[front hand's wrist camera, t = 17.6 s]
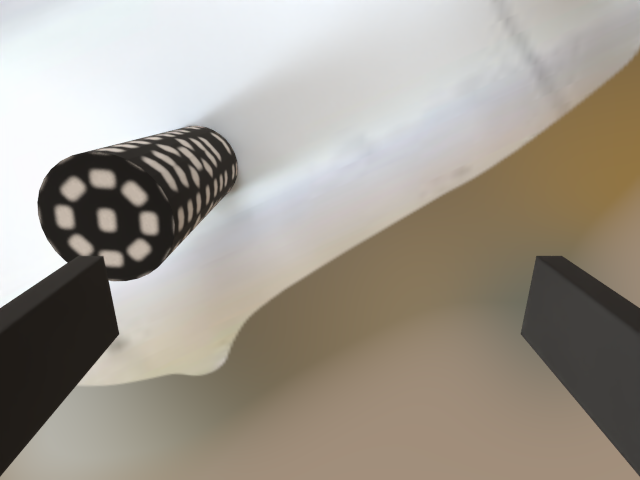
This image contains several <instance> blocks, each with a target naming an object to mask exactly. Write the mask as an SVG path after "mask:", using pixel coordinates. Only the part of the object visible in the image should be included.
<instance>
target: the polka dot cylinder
mask: <svg viewBox="0 0 640 480" xmlns="http://www.w3.org/2000/svg"><path fill="white" fill-rule="evenodd" d="M236 177H237V160H236V157H235V153H234V151H233V149H232V147H231V146H230V145H229V143H228V142H227V141H226V140H225V139H224V138H223V137H222V136H221V135H220V134H218V133H217V132H215V131H214V130H211V129H209V128H206V127H201V126H189V127H185V128H181V129H177V130H173V131H169V132H165V133H160V134H156V135H152V136H148V137H144V138H140V139H136V140H132V141H128V142H124V143H120V144H116V145H112V146H108V147H104V148H100V149H96V150H92V151H88V152H84V153H80V154H76V155H72V156H70V157H68V158H66V159H64V160H62V161H60V162H59V163H58V164H57V165H56V166H54V167H53V168H52V169H51V170H50V171H49V173H48V174H47V176H46V177H45V178H44V180H43V183H42V185H41V188H40V190H39V196H38V216H39V219H40V223H41V227H42V229H43V231H44V233H45V235H46V238H47V240H48V241H49V242H50V244H51V245H52V247H53V248H54V249H55V251H56V252H57V253H58V254H59V255H60V256H61V257H62V258H63V259H64V260H65V261H66V262H70V261H71V260H73V259H74V258H76V257H77V256H104V261H105V266H106V271H107V276H108V280H110V281H128V280H133V279H138V278H140V277H143V276H145V275H147V274H149V273H151V272H152V271H153V270H155V269H156V268H158V267H159V266H160V265H161V264H162V262H163V261H164V260H165V259H166V258H167V257H168V256H169V255H170V254H171V253H172V252H173V251H174V250H175V249H176V247H177V246H178V245H179V244H180V243H181V242H182V241H183V240H184V239H185V238H186V237H187V236H188V235H189V234H190V232H191V231H192V230H193V229H194V228H195V227H196V226H197V225H198V224H199V223H200V222H201V221H202V220H203V219H204V217H205V216H206V215H207V214H208V213H209V212H210V211H211V210H212V209H213V208H214V207H215V206H216V205H217V204H218V202H219V201H220V200H221V199H222V198H223V197H224V196H225V195H226V194H227V193H228V192H229V191H230V189H231V188H232V186H233V185H234V183H235V180H236Z"/></svg>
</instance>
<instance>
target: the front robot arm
mask: <svg viewBox="0 0 640 480" xmlns="http://www.w3.org/2000/svg"><path fill="white" fill-rule="evenodd" d="M118 335H119V330H118V326H117V321H116V316H115V311H114V306H113V301H112V296H111V291H110V286H109V281H108V276H107V271H106V266H105V261H104V256H77V257H76V258H74V259H73V260H71V261H70V262H68V263H67V264H66V265H64V266H63V267H61V268H60V269H58V270H57V271H55V272H54V273H52V274H51V275H49V276H48V277H46V278H45V279H43V280H42V281H40V282H39V283H37V284H36V285H34V286H33V287H31V288H30V289H28V290H27V291H25V292H24V293H22V294H21V295H19V296H18V297H16V298H15V299H13V300H12V301H10V302H9V303H7V304H6V305H4V306H3V307H1V308H0V476H1V475H2V474H3V472H4V471H5V470H6V469H7V468H8V466H9V465H10V464H11V463H12V462H13V460H14V459H15V458H16V457H17V456H18V455H19V453H20V452H21V451H22V450H23V449H24V447H25V446H26V445H27V444H28V443H29V441H30V440H31V439H32V438H33V437H34V435H35V434H36V433H37V432H38V431H39V429H40V428H41V427H42V426H43V425H44V423H45V422H46V421H47V420H48V419H49V417H50V416H51V415H52V414H53V413H54V411H55V410H56V409H57V408H58V407H59V405H60V404H61V403H62V402H63V401H64V399H65V398H66V397H67V396H68V395H69V393H70V392H71V391H72V390H73V389H74V388H75V386H76V385H77V384H78V383H79V382H80V380H81V379H82V378H83V377H84V376H85V374H86V373H87V372H88V371H89V370H90V368H91V367H92V366H93V365H94V364H95V362H96V361H97V360H98V359H99V358H100V356H101V355H102V354H103V353H104V352H105V350H106V349H107V348H108V347H109V346H110V344H111V343H112V342H113V341H114V340H115V338H116V337H117V336H118ZM521 335H522V336H523V337H524V338H525V340H526V341H527V342H528V343H529V344H530V346H531V347H532V348H533V349H534V350H535V352H536V353H537V354H538V355H539V356H540V358H541V359H542V360H543V361H544V362H545V364H546V365H547V366H548V367H549V368H550V370H551V371H552V372H553V373H554V374H555V376H556V377H557V378H558V379H559V380H560V382H561V383H562V384H563V385H564V386H565V388H566V389H567V390H568V391H569V392H570V394H571V395H572V396H573V397H574V398H575V400H576V401H577V402H578V403H579V404H580V405H581V407H582V408H583V409H584V410H585V411H586V413H587V414H588V415H589V416H590V417H591V419H592V420H593V421H594V422H595V423H596V425H597V426H598V427H599V428H600V429H601V431H602V432H603V433H604V434H605V435H606V437H607V438H608V439H609V440H610V441H611V443H612V444H613V445H614V446H615V447H616V449H617V450H618V451H619V452H620V453H621V455H622V456H623V457H624V458H625V459H626V460H627V462H628V463H629V464H630V465H631V466H632V468H633V469H634V470H635V471H636V472H637V474H638V475H639V476H640V308H639V307H637V306H636V305H634V304H633V303H631V302H630V301H628V300H627V299H625V298H624V297H622V296H621V295H619V294H618V293H616V292H615V291H613V290H612V289H610V288H609V287H607V286H606V285H604V284H603V283H601V282H600V281H598V280H597V279H595V278H594V277H592V276H591V275H589V274H588V273H586V272H585V271H583V270H582V269H580V268H579V267H577V266H576V265H574V264H573V263H572V262H570V261H569V260H567V259H566V258H564V257H562V256H536V261H535V266H534V271H533V276H532V281H531V286H530V291H529V296H528V301H527V306H526V311H525V316H524V321H523V326H522V330H521Z"/></svg>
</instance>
